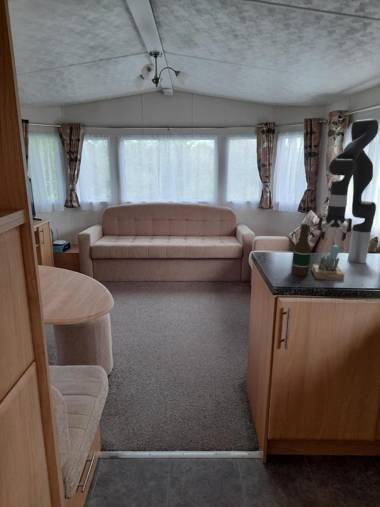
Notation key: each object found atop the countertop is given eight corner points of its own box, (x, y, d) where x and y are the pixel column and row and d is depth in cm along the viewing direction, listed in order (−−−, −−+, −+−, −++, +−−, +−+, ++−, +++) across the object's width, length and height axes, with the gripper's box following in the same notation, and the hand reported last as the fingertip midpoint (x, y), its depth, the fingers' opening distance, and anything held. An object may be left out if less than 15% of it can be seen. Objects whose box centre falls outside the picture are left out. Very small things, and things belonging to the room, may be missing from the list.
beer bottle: (308, 272, 165) (314, 223, 159) (307, 277, 158) (314, 226, 152) (291, 270, 168) (296, 222, 162) (290, 275, 161) (296, 225, 155)
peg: (324, 264, 162) (332, 244, 152) (331, 265, 162) (340, 245, 152) (325, 269, 160) (332, 249, 150) (332, 270, 160) (340, 250, 149)
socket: (311, 269, 170) (314, 251, 168) (337, 272, 168) (340, 254, 165) (315, 278, 157) (318, 259, 154) (343, 281, 154) (346, 261, 152)
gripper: (352, 204, 155) (347, 239, 159) (319, 203, 158) (315, 237, 162) (356, 206, 148) (350, 242, 152) (321, 205, 151) (317, 240, 155)
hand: (332, 239), depth 157 cm, fingers open, 8 cm apart
